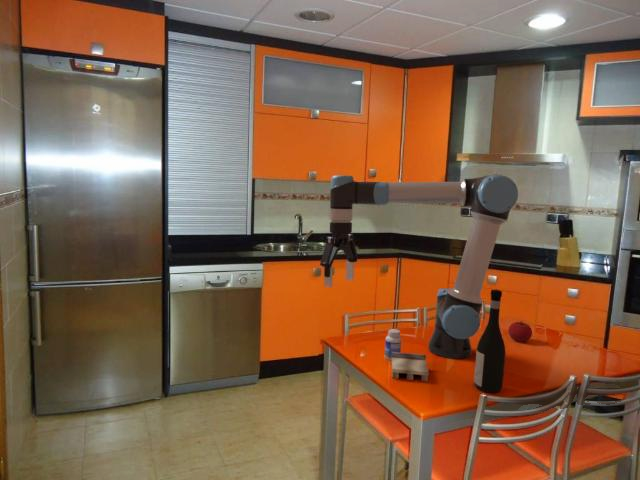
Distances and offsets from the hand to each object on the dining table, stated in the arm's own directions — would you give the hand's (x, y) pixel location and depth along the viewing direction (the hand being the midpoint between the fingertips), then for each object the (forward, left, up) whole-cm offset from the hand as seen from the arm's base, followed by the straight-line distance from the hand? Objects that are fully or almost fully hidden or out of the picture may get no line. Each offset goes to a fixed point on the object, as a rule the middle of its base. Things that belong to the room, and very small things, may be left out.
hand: (339, 283), depth 160 cm
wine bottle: (-48, +17, -25) cm, 57 cm away
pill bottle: (-20, -1, -25) cm, 32 cm away
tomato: (-71, -33, -25) cm, 82 cm away
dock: (-25, +11, -25) cm, 37 cm away
